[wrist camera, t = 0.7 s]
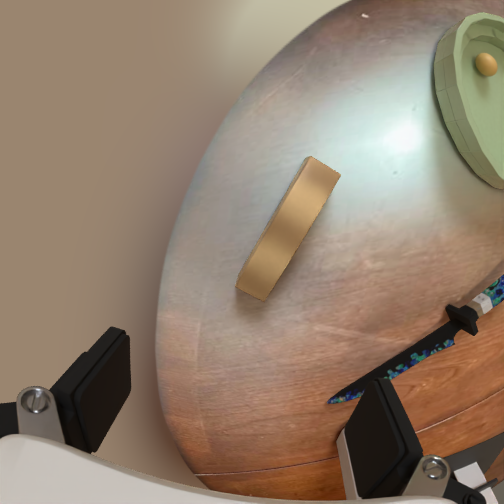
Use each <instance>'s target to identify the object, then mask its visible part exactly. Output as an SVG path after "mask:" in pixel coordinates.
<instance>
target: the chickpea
mask: <svg viewBox="0 0 504 504" xmlns="http://www.w3.org/2000/svg"><path fill="white" fill-rule="evenodd" d="M475 63H476V67H477V69H478V70H479V71H480V72H481V73H482V74H483V75H485V76H493V75H495V74H496V72H497V69H498V66H497V62H496V60H495V59H494V58H493V57H492V56H491V55H489V54H487V53H480V54H479V55H477V57H476V60H475Z"/></svg>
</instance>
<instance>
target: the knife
mask: <svg viewBox="0 0 504 504" xmlns="http://www.w3.org/2000/svg"><path fill="white" fill-rule="evenodd" d="M503 300H504V275H502V276H501V277H500V278H499V279H498V280H497V281H495V282H494V283H493V284H492V285H490V286H489V287H488V288H487V289H485V290H484V291H483V292H482V293H480V294H479V295H478V296H476V297H475V298H474V299H473V300H471V301H470V302H469V303H467V304H466V305H464V306H463V307H461V308H460V309H459V308H457V307H454V306H452V305H450V304H449V305H448V306H447V307H446V311H447V313H448V315H449V318H450V321H449V322H447V323H446V324H444V325H443V326H441V327H440V328H438V329H437V330H435V331H434V332H432V333H431V334H429V335H427V336H426V337H424V338H423V339H422V340H420V341H419V342H417V343H415V344H414V345H412V346H411V347H409V348H408V349H406V350H405V351H403V352H401V353H400V354H398V355H397V356H395V357H393V358H392V359H390V360H389V361H387V362H386V363H384V364H382V365H381V366H379V367H378V368H376V369H374V370H373V371H371V372H370V373H368V374H367V375H365V376H363V377H362V378H360V379H358V380H357V381H355V382H354V383H352V384H350V385H349V386H347V387H346V388H344V389H342V390H341V391H340V392H338V393H337V394H335V395H334V396H333V397H331V398H330V399H329V400H328V401H327V403H329V404H335V403H341V402H345V401H349V400H352V399H355V398H358V397H360V396H362V395H363V393H364V391H365V389H366V387H367V385H368V383H369V382H370V381H373V379H374V378H388V379H390V380H391V379H393V378H395V377H396V376H398V375H399V374H401V373H402V372H404V371H406V370H407V369H409V368H410V367H412V366H414V365H415V364H417V363H418V362H420V361H422V360H423V359H425V358H427V357H428V356H430V355H432V354H434V353H436V352H438V351H440V350H443V349H445V348H447V347H450V346H452V345H455V343H454V336H455V335H456V333H457V332H458V331H459V330H461V329H462V330H464V331H466V332H468V333H469V334H471V335H473V336H475V335H476V334H477V333H478V328H477V325H476V321H477V319H478V318H479V317H480V316H482V315H484V314H485V313H486V312H488V311H489V310H491V309H492V308H493V307H495V306H496V305H498V304H499V303H500V302H502V301H503Z"/></svg>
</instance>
